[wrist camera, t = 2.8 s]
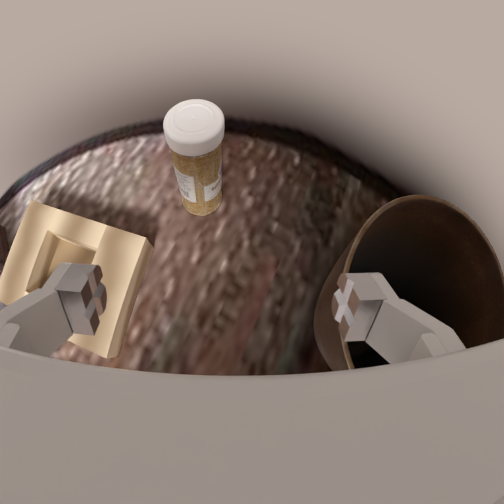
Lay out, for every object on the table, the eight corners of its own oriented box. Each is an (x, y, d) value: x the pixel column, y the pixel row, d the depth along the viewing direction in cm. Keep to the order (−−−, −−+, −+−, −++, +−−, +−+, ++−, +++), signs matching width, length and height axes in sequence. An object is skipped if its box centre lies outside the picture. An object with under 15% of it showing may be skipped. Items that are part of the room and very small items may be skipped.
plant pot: (406, 268, 33) (503, 223, 18) (395, 393, 29) (498, 413, 13) (289, 246, 32) (346, 168, 17) (269, 387, 28) (318, 435, 13)
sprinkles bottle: (226, 211, 33) (231, 134, 20) (186, 221, 32) (167, 148, 19) (216, 176, 34) (216, 91, 21) (177, 185, 33) (158, 104, 20)
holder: (153, 248, 31) (146, 237, 27) (118, 356, 27) (106, 358, 24) (44, 211, 30) (31, 199, 27) (11, 302, 27) (-6, 297, 23)
